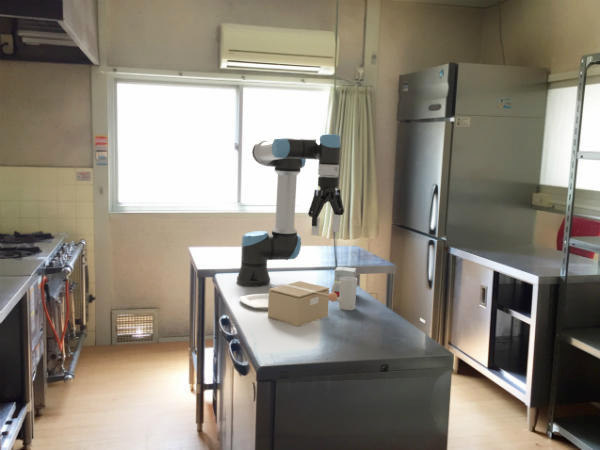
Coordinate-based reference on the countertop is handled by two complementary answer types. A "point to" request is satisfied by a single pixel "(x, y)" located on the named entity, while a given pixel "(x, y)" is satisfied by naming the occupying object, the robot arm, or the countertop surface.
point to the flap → (303, 290)
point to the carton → (297, 308)
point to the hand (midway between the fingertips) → (325, 233)
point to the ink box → (343, 273)
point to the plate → (256, 300)
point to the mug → (346, 292)
